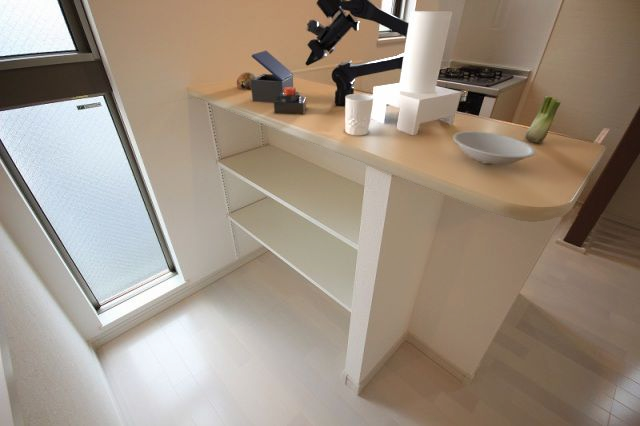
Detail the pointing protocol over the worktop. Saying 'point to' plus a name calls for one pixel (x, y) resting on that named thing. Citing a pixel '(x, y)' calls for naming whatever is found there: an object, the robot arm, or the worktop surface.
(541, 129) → the fennel bulb
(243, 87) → the bread roll
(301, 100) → the red push button box
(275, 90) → the dark grey housing
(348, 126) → the white cup
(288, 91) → the button
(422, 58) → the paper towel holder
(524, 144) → the dish
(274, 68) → the lid
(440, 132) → the worktop surface
